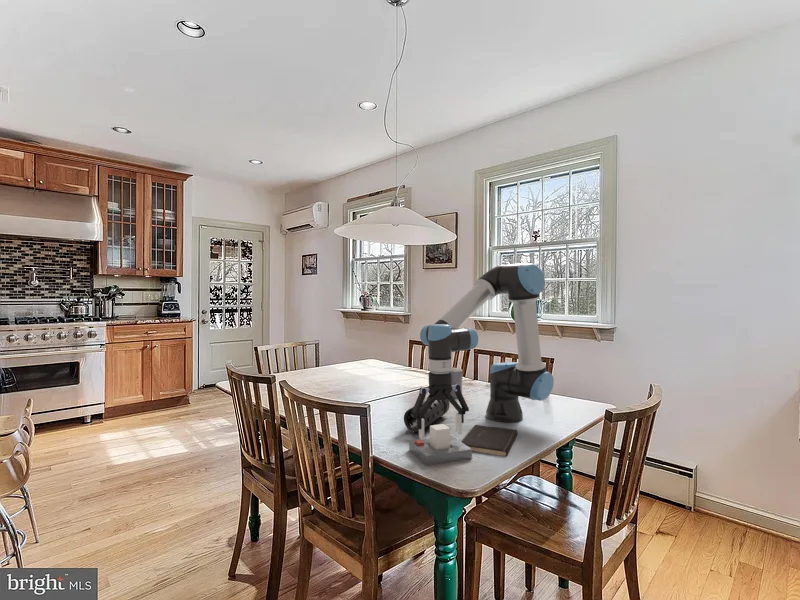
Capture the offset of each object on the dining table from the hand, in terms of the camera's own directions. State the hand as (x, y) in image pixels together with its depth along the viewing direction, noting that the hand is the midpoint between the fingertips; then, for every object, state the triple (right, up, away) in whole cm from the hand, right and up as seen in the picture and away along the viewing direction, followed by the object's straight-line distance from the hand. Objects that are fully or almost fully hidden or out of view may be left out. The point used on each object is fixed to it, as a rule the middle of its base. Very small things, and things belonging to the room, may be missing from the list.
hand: (440, 435), depth 142 cm
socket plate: (0, -6, 0) cm, 6 cm away
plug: (0, -6, 0) cm, 6 cm away
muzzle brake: (-2, -6, +32) cm, 32 cm away
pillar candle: (+14, -4, +77) cm, 79 cm away
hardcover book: (+19, -7, +12) cm, 23 cm away
